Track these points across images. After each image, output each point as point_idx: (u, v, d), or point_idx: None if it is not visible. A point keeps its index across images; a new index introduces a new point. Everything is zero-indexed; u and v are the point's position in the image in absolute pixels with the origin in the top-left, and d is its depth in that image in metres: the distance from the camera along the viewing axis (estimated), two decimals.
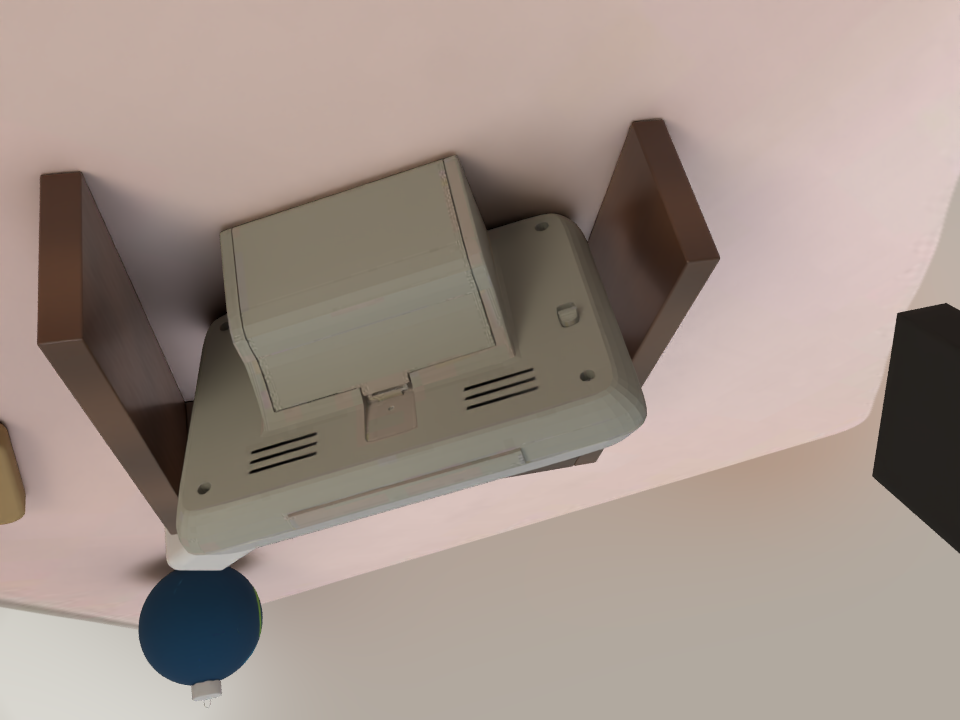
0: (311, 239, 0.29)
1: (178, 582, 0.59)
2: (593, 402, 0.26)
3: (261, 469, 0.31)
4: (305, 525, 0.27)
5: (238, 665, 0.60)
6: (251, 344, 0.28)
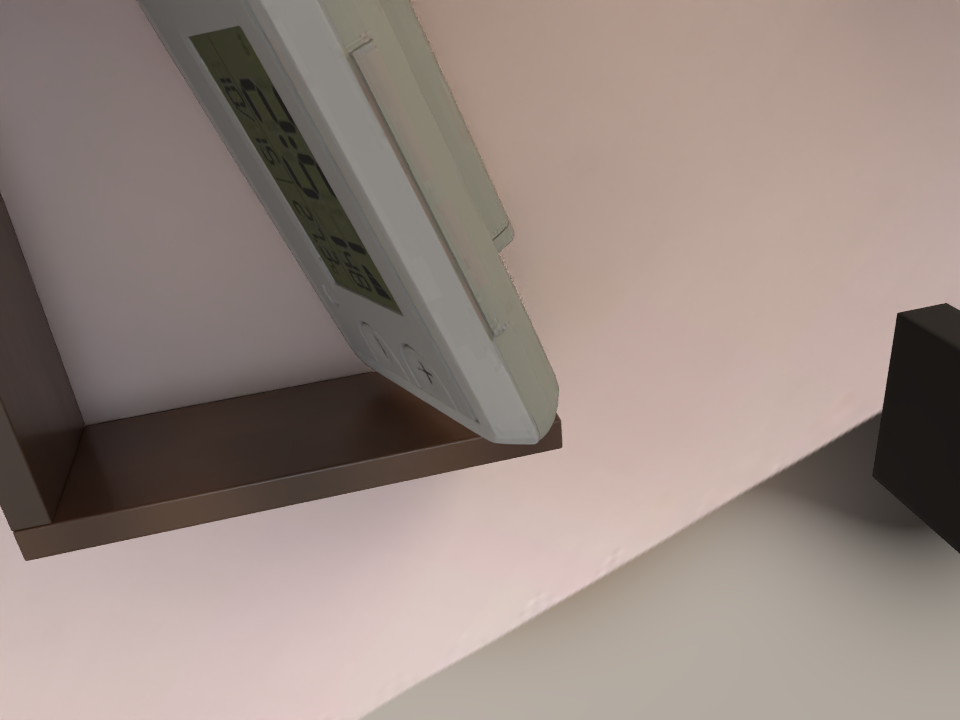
0: None
1: None
2: (553, 376, 0.24)
3: None
4: (364, 66, 0.18)
5: None
6: None
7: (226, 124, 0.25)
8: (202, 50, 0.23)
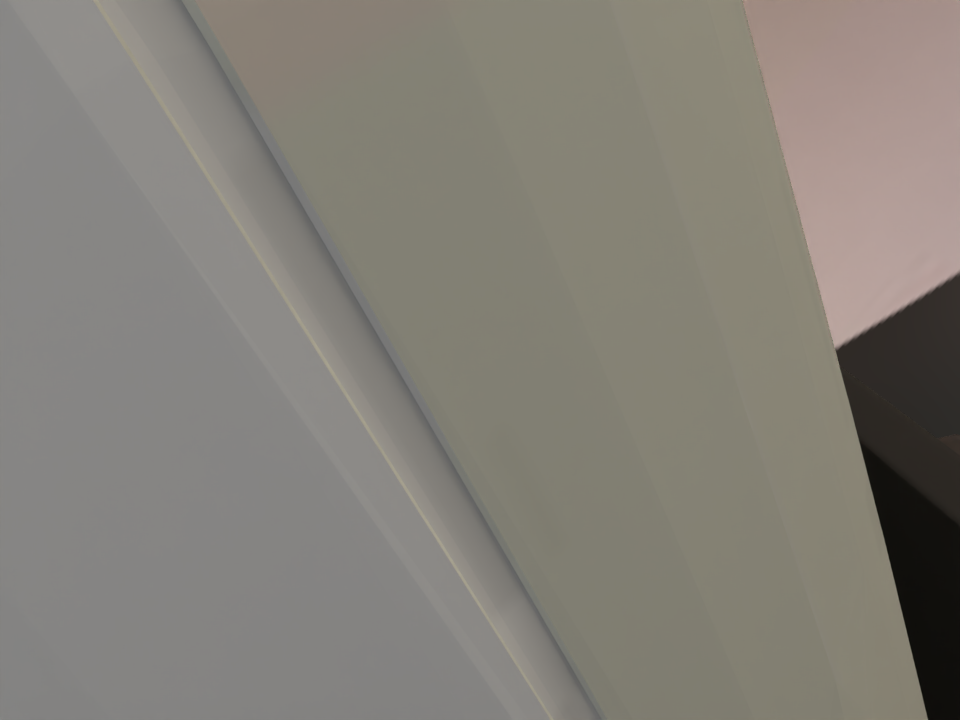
0: None
1: None
2: None
3: None
4: None
5: None
6: None
7: None
8: None
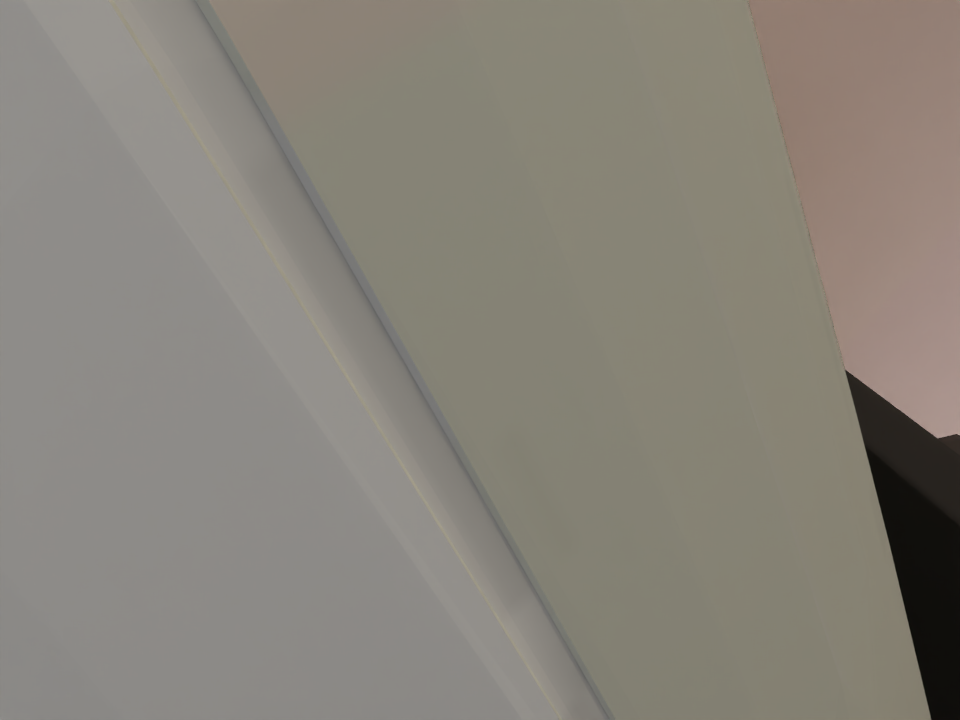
0: None
1: None
2: None
3: None
4: None
5: None
6: None
7: None
8: None
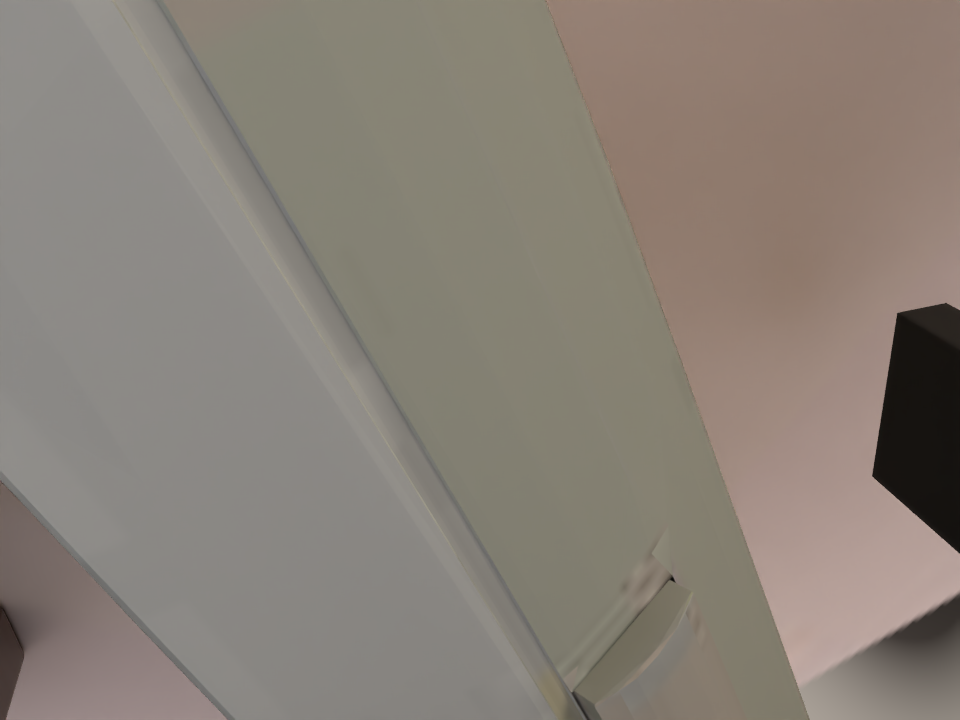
0: None
1: None
2: None
3: None
4: None
5: None
6: None
7: None
8: None
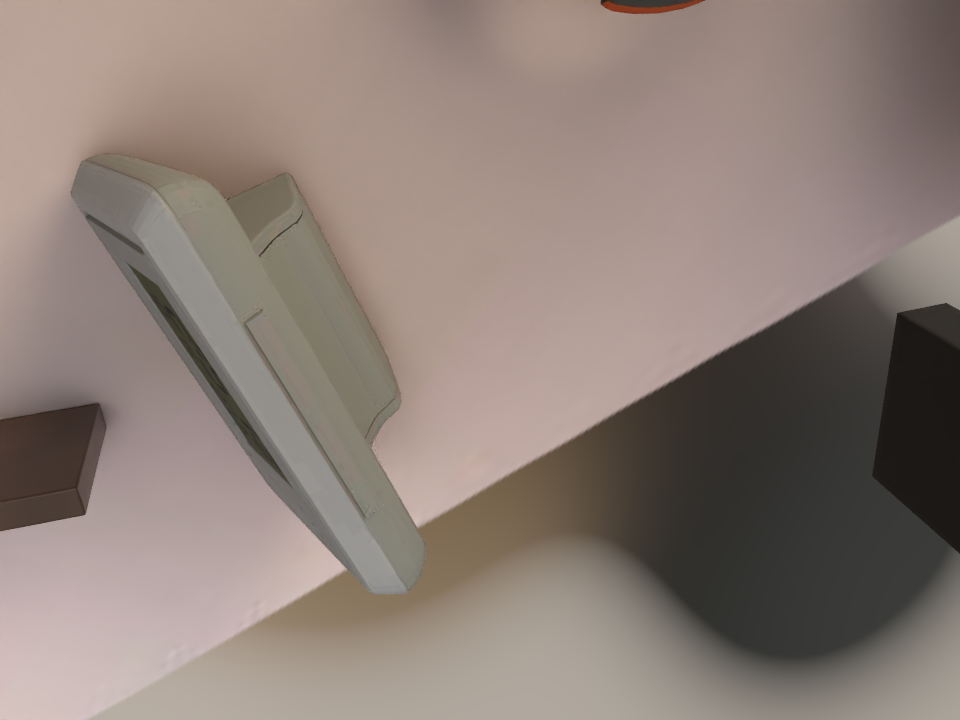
0: (331, 258, 0.32)
1: None
2: (420, 540, 0.29)
3: None
4: (256, 331, 0.23)
5: None
6: (293, 226, 0.28)
7: (156, 317, 0.30)
8: (135, 271, 0.28)
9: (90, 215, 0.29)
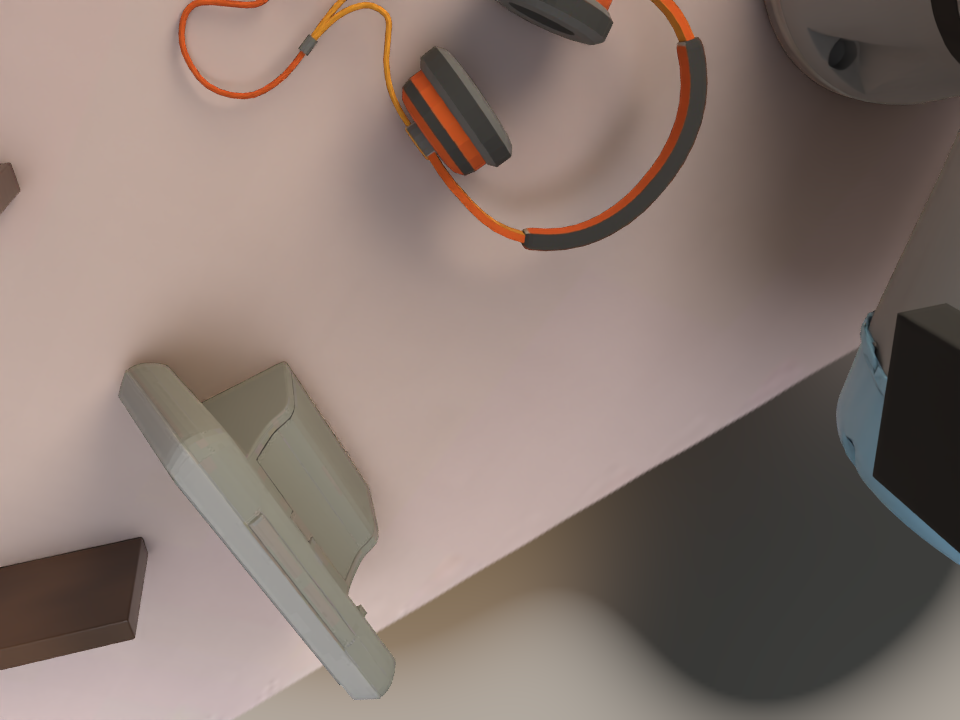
0: (320, 427, 0.41)
1: None
2: (390, 657, 0.38)
3: None
4: (257, 530, 0.32)
5: None
6: (287, 421, 0.37)
7: None
8: None
9: None
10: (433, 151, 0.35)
